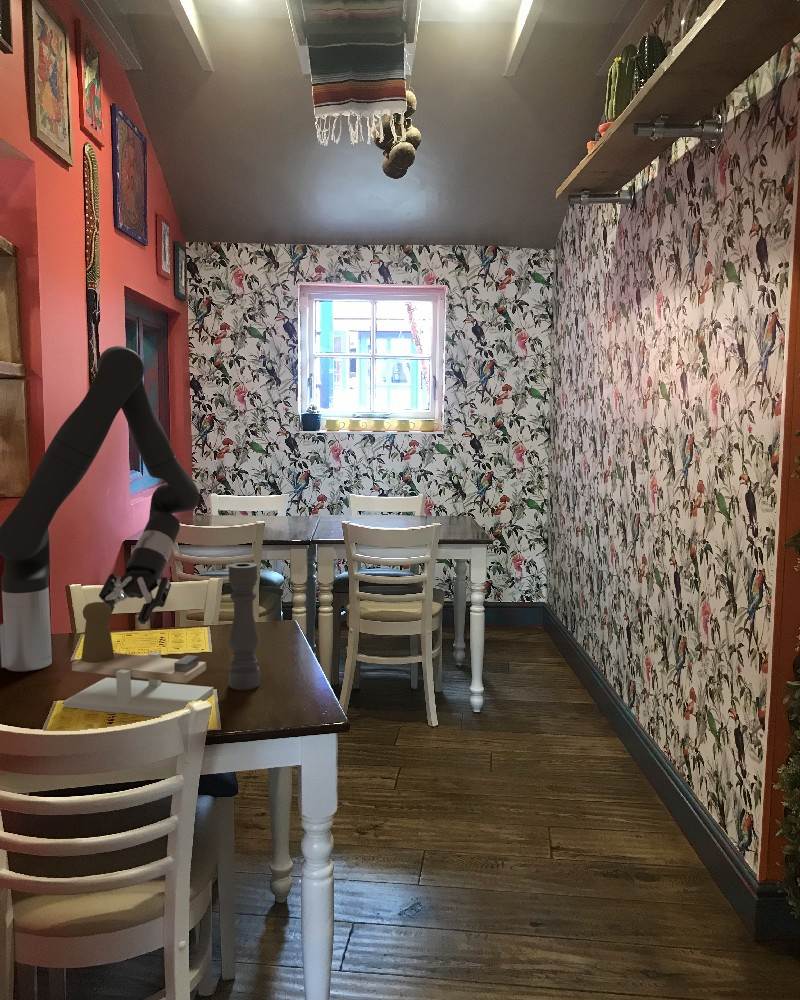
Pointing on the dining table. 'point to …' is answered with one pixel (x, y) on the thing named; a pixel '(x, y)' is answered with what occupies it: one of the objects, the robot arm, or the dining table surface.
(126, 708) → the beam stand
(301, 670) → the dining table surface
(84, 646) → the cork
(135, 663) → the beam
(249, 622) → the candle holder
